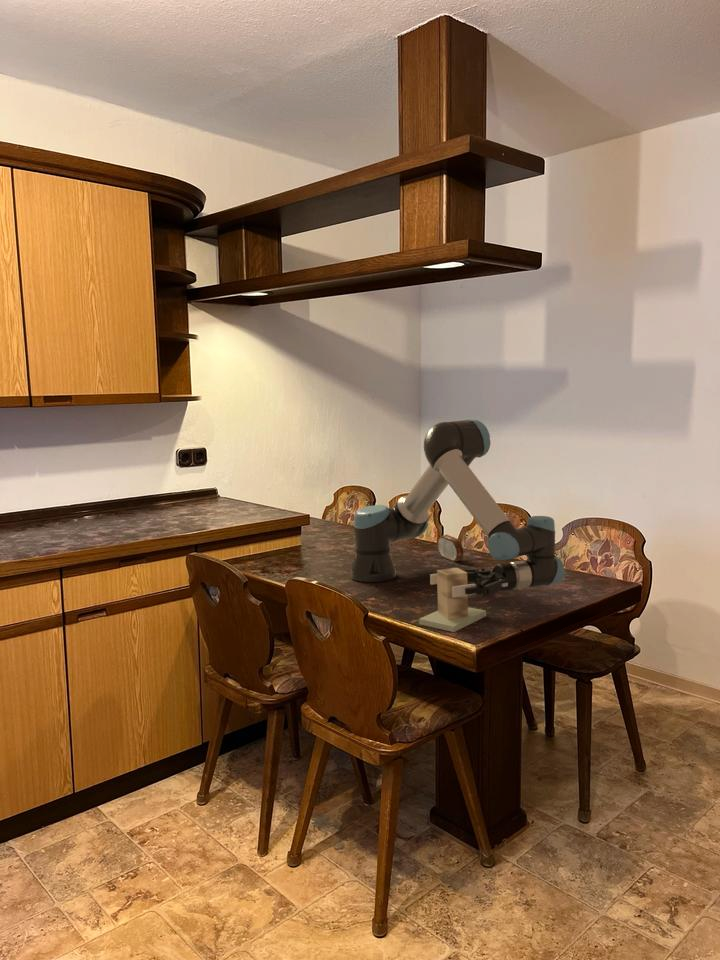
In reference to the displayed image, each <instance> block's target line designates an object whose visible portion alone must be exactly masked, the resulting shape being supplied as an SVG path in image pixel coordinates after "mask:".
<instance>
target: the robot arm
mask: <svg viewBox="0 0 720 960" xmlns="http://www.w3.org/2000/svg"><path fill="white" fill-rule="evenodd" d="M490 448H491V435H490V431H489V430H488V428H487V426H486V425H485V424H484V423H483V422H482V421H480V420H476V419H464V420H454V421H453V420H452V421H442V422H438V423H436V424H434V425H433V426H432V427H430V429H429V430H428V431H427V432H426V434H425V437H424V439H423V451H424V456H425V458H426V460H427V462H428V464H429V465H428V466H427V468H426V469H425V470H424V471H423V473H422V475H421V476H420V477H419V478H418V480H417V482H416V483H415V484H414V486H413V487H412V489H411V490H410V491H409V492H408V494H407V495H403V496H401V497H400V498H398V501H397V502H396V503H395V505H394V506H392V507H389V506H387V505H383V504H375V505H367V506H364V507H361V508H359V509H358V510H356V512H355V513H354V516H353V517H354V521H353V527H354V547H355V548H354V549H355V550H354V553H355V556H354V559H353V561H352V566H351V570H350V578H351V579H352V580H354V581H356V582H357V581H358V582H361V583H380V582H386V581H390V580H393V579H395V578H396V577H397V568H396V566H395V565H394V562H393V561H394V560H393V558H392V555H391V543H395V542H400V541H405V540H412V539H415V538H417V537H420V536H422V535H423V534H425V532H426V531H427V529H428V527H429V523H428V522H429V520H430V519H429V518H430V517H429V511H430V509H431V508H432V506H433V505H434V503H435V502H436V501H437V500H438V498H439V497H440V496H441V495H442V493H443V492H444V490H446V488H447V487H448V486H449V487H450V488H451V489H452V490H453V492H454V493H455V494H456V496H457V497H458V498H459V500H460V501H461V502H462V504H463V506H464V507H465V508H466V510H467V511H468V512H469V514H470V515H471V516H472V517H473V519H474V520H475V521H476V522H477V523H476V524H477V525H478V526H479V527H480V528H481V530H482V531H483V532H484V534H485V535H486V536H487V537H488V540H487V549H488V553H489V554H490V556H491V557H492V558H493V559H494V560H497V561H500V562H501V561H510V560H511V561H510V562H504V563H497V564H495V566H494V567H493V569H492V570H487V569H485V568H466V569H465V568H460V569H461V570H463V571H465V572H467V582H473V583H467V585H460V586H453V587H452V597H461V596H468V597H469V596H474V595H479V596H481V595H482V596H483V597H488V596H490V595H493V594H496V593H497V592H508V591H513V590H519V591H522V589H527V588H534V587H541V586H550V585H555V584H558V583H560V582H562V581H563V580H564V578H565V573H566V572H565V570H566V569H565V567H564V563H563V561H562V560H561V559H560V558H559V557H557V556H556V549H555V548H556V528H555V527H556V526H555V525H556V524H555V520H554V518H553V517H551V516H547V515H534V516H529V517H528V518H527V520H526V525H525V526H524V527H518V528H517V527H516V526H515V525H514V524H513V523H512V521H511V520H510V519H509V518H508V516H507V515H506V514H505V512H504V511H503V510H502V508H501V507H500V506H499V504H498V503H497V502H496V500H495V498H493V496H492V495H491V494H490V492H489V491H488V490H487V489H486V487H485V486H484V485H483V483H482V482H481V481H480V480H479V478H478V477H477V476H476V474H475V473H474V472H473V470H472V469H471V468H470V465H471V463H472V462H473V461H474V460H475V459H476V458H482V457H483V456H485V455H487V453H488V452H489V451H490ZM523 556H527V560H517V561H512V560H514V559H516V558H519V557H523ZM429 578H430V579H429V580H430V581H429V585H431V586H433V585H437V573H432V574H431V573H430V574H429Z"/></svg>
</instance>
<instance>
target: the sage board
mask: <svg viewBox="0 0 720 960" xmlns="http://www.w3.org/2000/svg"><path fill="white" fill-rule="evenodd" d="M486 617H487V610H485V609H480V608H475V607H469V606H468V616H467V617H460V618H454V619H446V618H445V617H443V616H442V615H440V614H439V613H438V610H436V611H433V612H431V613H429V614H426V615H423V617H419V618H418V625H420V626H424V627H429V628H433V629H438V630H443V631H446V632H451V633H455V632H457V631H459V630H461V629H463V628H465V627H467V626H469V625H471V624H473V623H476V622H477V621H479V620H481V619H483V618H486Z"/></svg>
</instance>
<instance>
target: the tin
mask: <svg viewBox="0 0 720 960" xmlns="http://www.w3.org/2000/svg"><path fill="white" fill-rule="evenodd" d="M437 549H438V553H439V554H440V556H441V557H442V558H444V559H447V560H448V561H451V562H454V563H456V562H461V561H462V560H463V557H464V549H463V545H462V543H461V541H460V540H459V538H456V537H453V536H451V535H450V534H442V535H440V536H439V537H438V539H437Z"/></svg>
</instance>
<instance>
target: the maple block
mask: <svg viewBox="0 0 720 960" xmlns="http://www.w3.org/2000/svg"><path fill="white" fill-rule="evenodd" d="M461 569H462V568H459V567H451V568H450V567H449V568H443V569H442V568H441V569H436V574H437V584H436V585H437V586H436V587H437V590H436V591H437V592H436V593H437V611H438V613H439V614H440V615H442V616H443V617H445V618H446V619H454V618H460V617H467V616H468V607H469V604H468V603H469V602H468V600H469V598H468V597H469V595H468V596H461V597H452V587H453V586H460V585H468V581H467V572H465V571H463V570H461Z"/></svg>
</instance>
